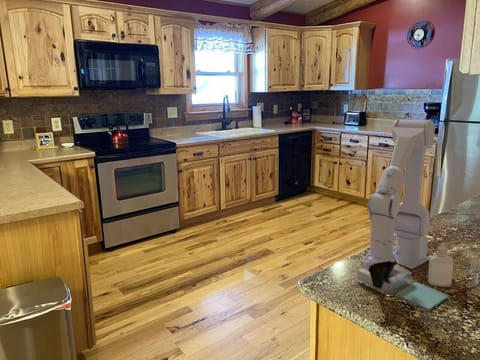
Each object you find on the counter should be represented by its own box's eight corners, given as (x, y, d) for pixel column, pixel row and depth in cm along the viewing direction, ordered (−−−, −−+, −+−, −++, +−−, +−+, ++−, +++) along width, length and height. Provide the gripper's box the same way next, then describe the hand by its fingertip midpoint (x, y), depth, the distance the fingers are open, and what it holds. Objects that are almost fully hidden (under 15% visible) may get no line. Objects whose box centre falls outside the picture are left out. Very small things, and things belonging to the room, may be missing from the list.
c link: (378, 270, 112) (379, 260, 111) (410, 284, 104) (411, 272, 103) (357, 281, 106) (357, 270, 105) (389, 296, 98) (389, 284, 97)
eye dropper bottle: (448, 290, 100) (452, 248, 97) (425, 283, 103) (429, 243, 101) (453, 283, 103) (457, 243, 100) (431, 277, 106) (434, 238, 104)
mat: (415, 283, 104) (415, 281, 104) (448, 297, 97) (449, 295, 96) (395, 295, 98) (395, 293, 98) (429, 310, 91) (429, 308, 91)
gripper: (378, 250, 90) (376, 301, 94) (412, 235, 99) (408, 282, 102) (354, 241, 96) (352, 289, 99) (388, 228, 104) (385, 272, 107)
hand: (379, 285), depth 101 cm, fingers closed on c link, 2 cm apart
